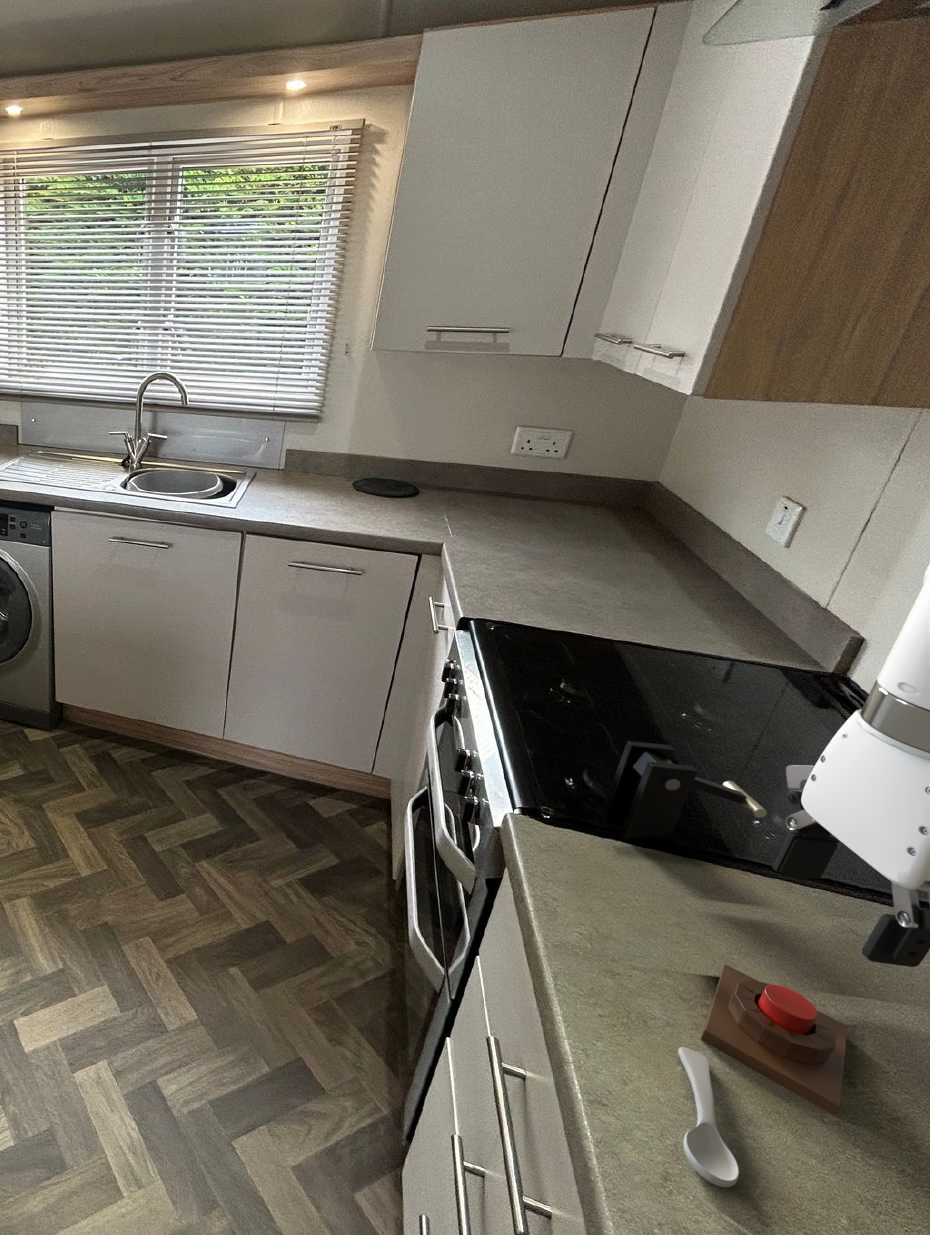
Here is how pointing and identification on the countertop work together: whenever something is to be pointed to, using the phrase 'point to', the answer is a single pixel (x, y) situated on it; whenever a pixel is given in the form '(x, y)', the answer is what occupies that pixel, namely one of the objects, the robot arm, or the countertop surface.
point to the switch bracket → (648, 794)
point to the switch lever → (709, 786)
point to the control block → (776, 1042)
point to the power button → (787, 1009)
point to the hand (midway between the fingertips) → (838, 913)
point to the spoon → (706, 1127)
